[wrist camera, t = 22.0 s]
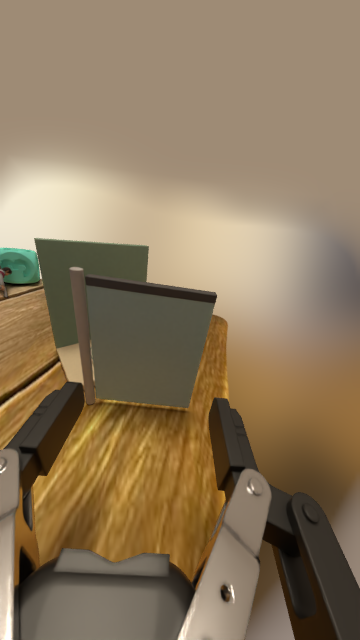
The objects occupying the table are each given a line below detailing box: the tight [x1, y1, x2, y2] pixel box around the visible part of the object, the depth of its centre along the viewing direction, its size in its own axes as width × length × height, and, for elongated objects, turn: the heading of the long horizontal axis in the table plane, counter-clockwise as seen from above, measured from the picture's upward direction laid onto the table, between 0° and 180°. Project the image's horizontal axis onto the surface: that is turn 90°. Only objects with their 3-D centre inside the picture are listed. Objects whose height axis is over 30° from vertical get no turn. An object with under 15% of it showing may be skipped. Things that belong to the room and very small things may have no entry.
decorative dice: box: [0, 248, 40, 284], centre depth 49 cm, size 8×8×8 cm
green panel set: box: [34, 238, 149, 405], centre depth 26 cm, size 15×12×16 cm
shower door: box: [85, 274, 217, 408], centre depth 19 cm, size 11×1×15 cm, turn 90°
